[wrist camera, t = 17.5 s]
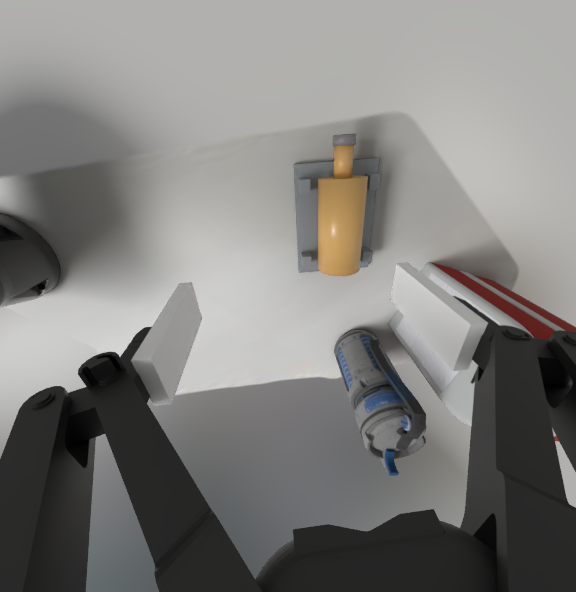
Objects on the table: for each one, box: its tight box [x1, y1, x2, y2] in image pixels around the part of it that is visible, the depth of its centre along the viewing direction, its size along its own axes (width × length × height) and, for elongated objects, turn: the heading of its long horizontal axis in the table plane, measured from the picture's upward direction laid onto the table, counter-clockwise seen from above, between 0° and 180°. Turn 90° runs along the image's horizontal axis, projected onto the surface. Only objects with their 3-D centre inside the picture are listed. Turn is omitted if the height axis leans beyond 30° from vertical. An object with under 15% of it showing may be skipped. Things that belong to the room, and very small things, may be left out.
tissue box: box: [389, 263, 576, 441], centre depth 42 cm, size 16×18×27 cm
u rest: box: [294, 158, 381, 273], centre depth 42 cm, size 18×13×4 cm
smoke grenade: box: [334, 330, 426, 475], centre depth 46 cm, size 10×13×25 cm
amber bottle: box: [318, 134, 368, 276], centre depth 38 cm, size 19×7×7 cm, turn 3°
